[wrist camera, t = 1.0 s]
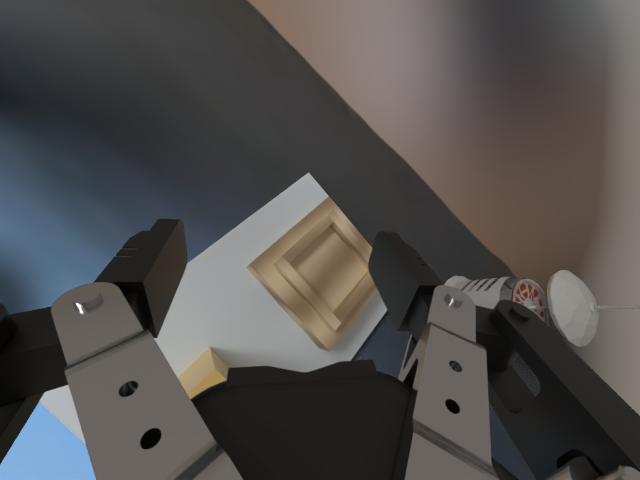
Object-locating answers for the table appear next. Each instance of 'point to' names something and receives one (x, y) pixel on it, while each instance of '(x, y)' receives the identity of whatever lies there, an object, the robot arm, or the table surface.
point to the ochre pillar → (203, 373)
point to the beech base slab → (319, 274)
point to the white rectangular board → (241, 306)
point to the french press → (543, 301)
